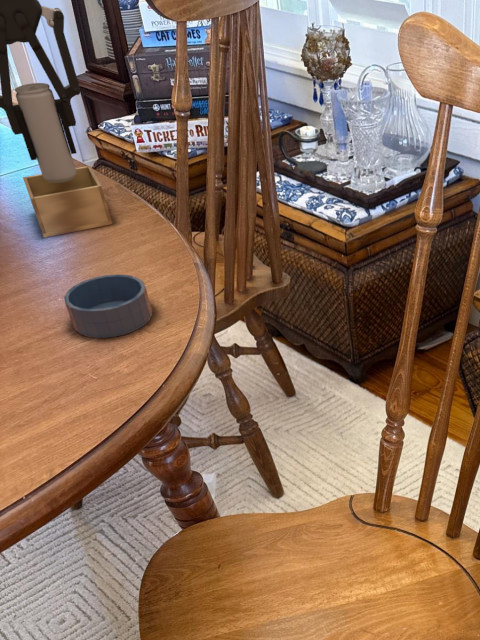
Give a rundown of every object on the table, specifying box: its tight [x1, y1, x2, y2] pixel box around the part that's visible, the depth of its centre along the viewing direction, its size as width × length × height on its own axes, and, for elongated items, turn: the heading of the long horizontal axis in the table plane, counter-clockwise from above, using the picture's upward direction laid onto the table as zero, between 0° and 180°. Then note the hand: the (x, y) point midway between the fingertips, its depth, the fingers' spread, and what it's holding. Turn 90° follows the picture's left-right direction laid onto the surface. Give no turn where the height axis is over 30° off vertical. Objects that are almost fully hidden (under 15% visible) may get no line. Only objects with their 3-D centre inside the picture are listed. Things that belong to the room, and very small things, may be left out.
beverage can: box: [14, 82, 77, 183], centre depth 111 cm, size 5×5×12 cm
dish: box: [63, 274, 153, 339], centre depth 94 cm, size 9×9×4 cm
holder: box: [22, 165, 113, 238], centre depth 117 cm, size 10×10×6 cm
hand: (53, 153), depth 113 cm, fingers closed on beverage can, 5 cm apart
